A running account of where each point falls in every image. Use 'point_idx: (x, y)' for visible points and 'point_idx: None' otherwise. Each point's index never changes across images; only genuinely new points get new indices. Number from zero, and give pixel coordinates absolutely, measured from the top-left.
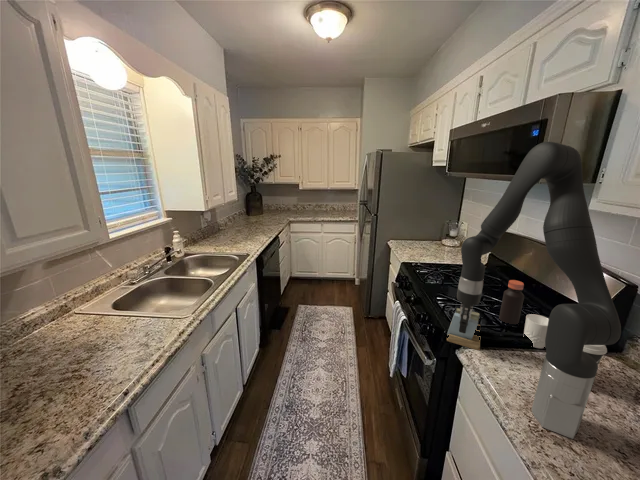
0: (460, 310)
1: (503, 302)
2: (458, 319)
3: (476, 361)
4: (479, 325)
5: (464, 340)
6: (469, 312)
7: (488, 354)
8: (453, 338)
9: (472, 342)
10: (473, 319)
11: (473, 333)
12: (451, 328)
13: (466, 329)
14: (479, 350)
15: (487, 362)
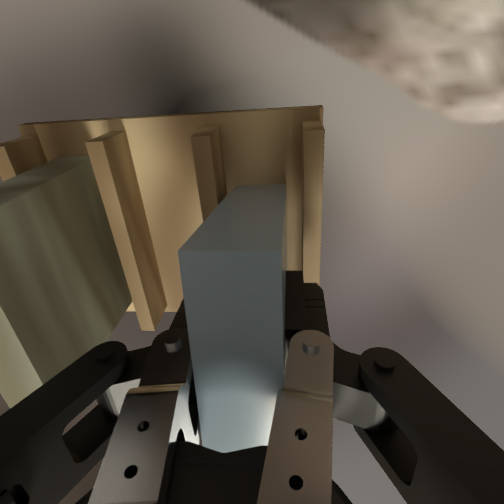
0: (33, 389)
1: None
2: None
3: (488, 113)
4: (2, 152)
5: (319, 236)
6: (176, 451)
7: (338, 26)
8: None
9: (322, 180)
10: (187, 310)
11: (284, 212)
12: None
13: (285, 284)
14: (321, 105)
15: (470, 23)
